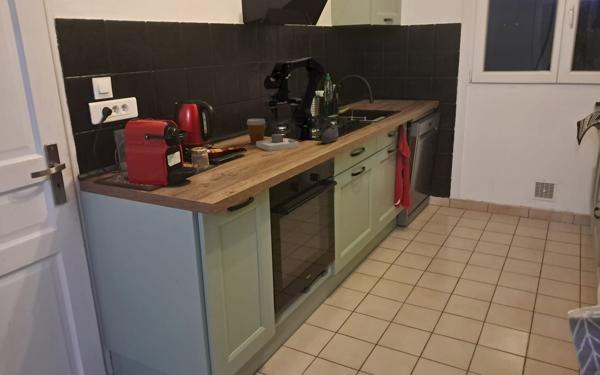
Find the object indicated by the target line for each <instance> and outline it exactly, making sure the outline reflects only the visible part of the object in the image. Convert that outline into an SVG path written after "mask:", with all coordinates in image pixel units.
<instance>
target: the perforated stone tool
mask: <svg viewBox="0 0 600 375" xmlns="http://www.w3.org/2000/svg"><path fill="white" fill-rule="evenodd" d="M339 135H340V134H339V128H338V127H337V126H334V127H333V126H332V127H330V128H326V130H324V131H323V132H322V134H321V136H320V137H321V138H320V140H321V143H323V144H330V142H331V143H334V142H335V141H337V140H338V138H339Z"/></svg>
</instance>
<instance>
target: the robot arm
mask: <svg viewBox="0 0 600 375" xmlns="http://www.w3.org/2000/svg"><path fill="white" fill-rule="evenodd" d="M300 68H304V70H305V71H306V72H307V79H308V80H307V81H308V83H307V86H306V89H305V93H304V96H303V99H302V98H299V97H291V98H290V93H291V90H290V85H289V84H290V82H289V81H290V80H289V79H292V78H293V77H292V75H291V74H290V73H291V72H293V70H296V69H300ZM325 71H326V70H325V68H324V67H323V65H322V64H321V63H319V62H318V61H316V60H315V59H314V58H313V57H312V56H308V57H307V56H305V57H302V58H299V59H298V58H297V59H294V60H289V61H276V62H275V64H274V67H273V69H272V71H271V72H270V74H267V75H266V76H265V78H264V80H263V87H264V89H265V90H268V91H269V90H270V91H271V90H275V93H273V92H269V93H268V100H265V101H264V107H266V108H267V109H268V110H270V112H271V114H272V116H273V119H274V121H275V122H277V121H278V112H279V111H278V110H279V109H278V107H277V106H280V105H282V106H283V105H289V107H290V119H291V120H293V119H294V120H293V121H294V122H295V123H294V124H295V126H296V128H298V130H297V133H298V134H297V136H298V137H297V138H296V139H298V140H301V141H309V140H314V137H313V128H315V126H316V124H315V122H314V120H313V119H312V117H313V116H312V115H313V114H312V111H311V109H312V106H313V102H314V98H315V95H316V91H317V89H318V84H319V83H320V82H321V81H322V80H323V78H324V76H325ZM299 107H300V108H299Z"/></svg>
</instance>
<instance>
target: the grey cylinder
mask: <svg viewBox="0 0 600 375" xmlns="http://www.w3.org/2000/svg"><path fill="white" fill-rule="evenodd" d="M283 138H284V134H281V133H274V134H271V140H272V142H273V143H281V142H283Z"/></svg>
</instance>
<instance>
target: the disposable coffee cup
mask: <svg viewBox="0 0 600 375" xmlns="http://www.w3.org/2000/svg"><path fill="white" fill-rule="evenodd" d="M246 125H247V129H248V135H249V140H250V144H251V145H255V146H256V141H264V139H265V137H264V136H265V128H266V127H265V126H266V119H264V118H249V119H247V121H246Z"/></svg>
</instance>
